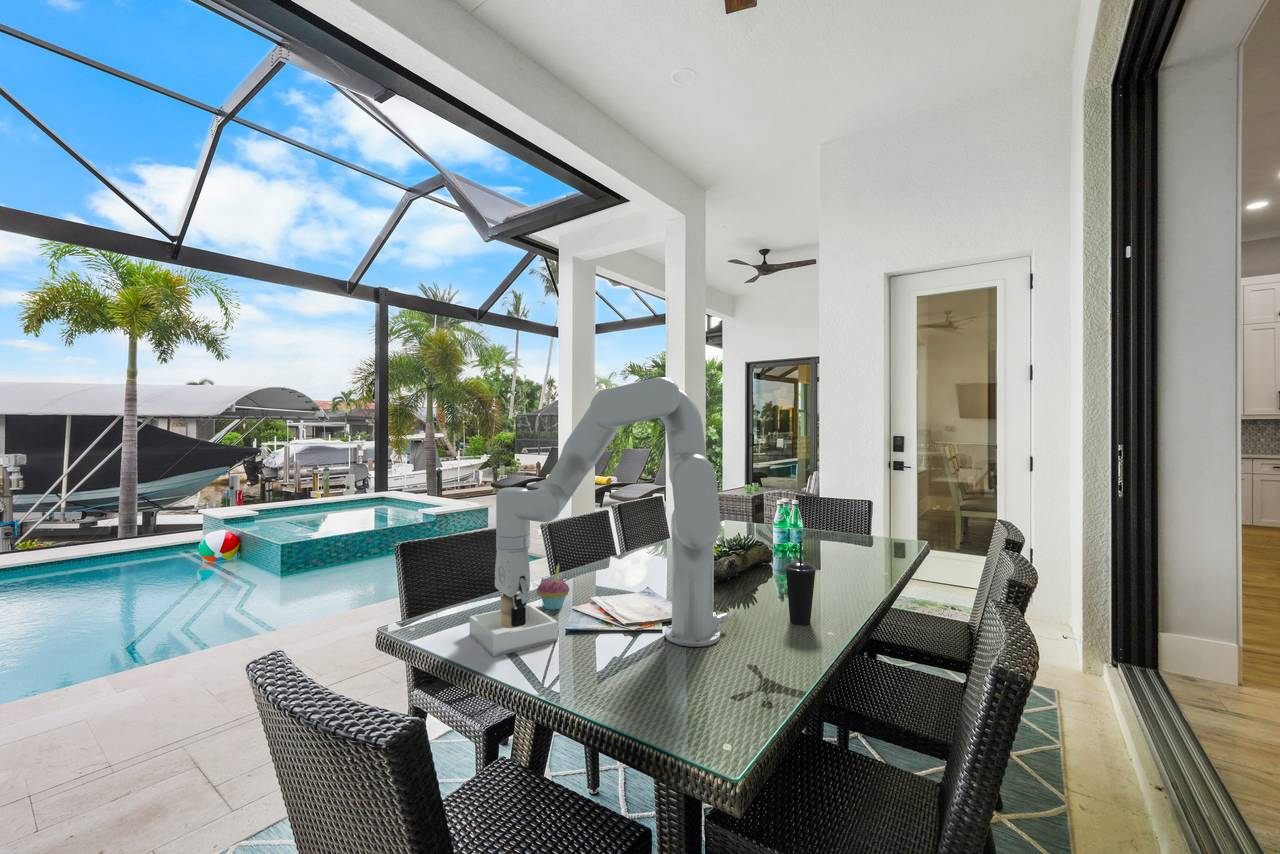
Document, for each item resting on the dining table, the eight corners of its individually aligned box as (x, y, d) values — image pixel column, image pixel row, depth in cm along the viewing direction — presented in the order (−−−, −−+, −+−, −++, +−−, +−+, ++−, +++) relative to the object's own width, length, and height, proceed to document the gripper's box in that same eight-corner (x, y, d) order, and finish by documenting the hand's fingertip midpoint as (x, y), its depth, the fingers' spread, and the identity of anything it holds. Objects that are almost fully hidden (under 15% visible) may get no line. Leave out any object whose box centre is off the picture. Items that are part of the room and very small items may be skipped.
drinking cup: (782, 624, 136) (782, 542, 136) (786, 614, 143) (786, 536, 143) (814, 629, 133) (815, 545, 133) (817, 619, 140) (818, 539, 140)
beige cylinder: (519, 617, 131) (519, 592, 131) (529, 624, 127) (529, 598, 127) (497, 622, 128) (497, 596, 128) (506, 629, 123) (506, 602, 123)
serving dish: (529, 621, 138) (529, 603, 138) (557, 640, 126) (557, 621, 125) (469, 634, 129) (469, 616, 129) (493, 657, 117) (493, 636, 117)
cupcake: (575, 605, 150) (575, 560, 150) (554, 614, 143) (554, 567, 143) (551, 599, 154) (551, 556, 154) (529, 608, 147) (529, 563, 147)
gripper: (484, 537, 132) (484, 614, 132) (512, 551, 118) (512, 637, 118) (514, 534, 136) (514, 608, 136) (544, 546, 122) (544, 629, 122)
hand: (513, 620), depth 127 cm, fingers closed on beige cylinder, 5 cm apart
